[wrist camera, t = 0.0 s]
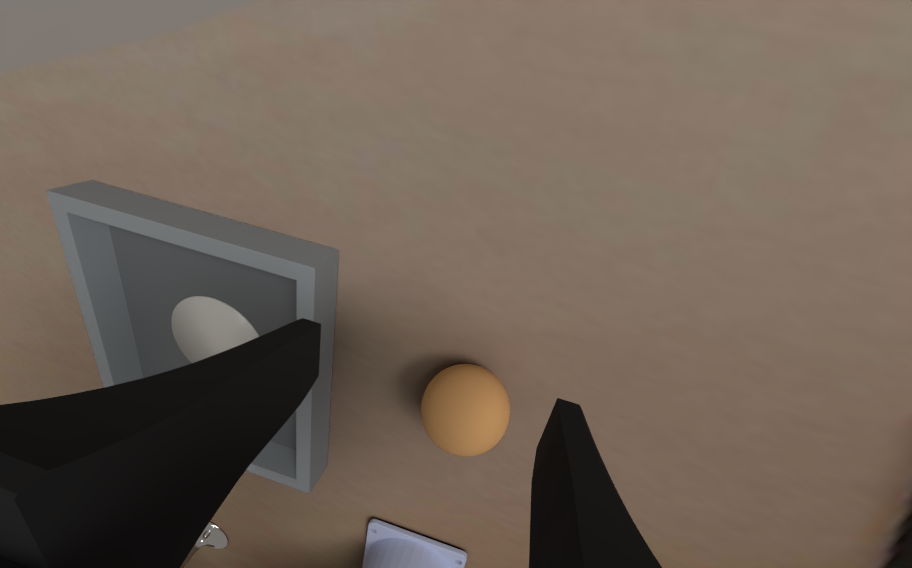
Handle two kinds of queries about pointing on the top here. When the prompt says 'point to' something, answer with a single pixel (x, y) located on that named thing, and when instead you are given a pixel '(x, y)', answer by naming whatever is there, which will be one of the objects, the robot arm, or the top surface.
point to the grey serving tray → (197, 300)
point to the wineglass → (209, 540)
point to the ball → (465, 410)
